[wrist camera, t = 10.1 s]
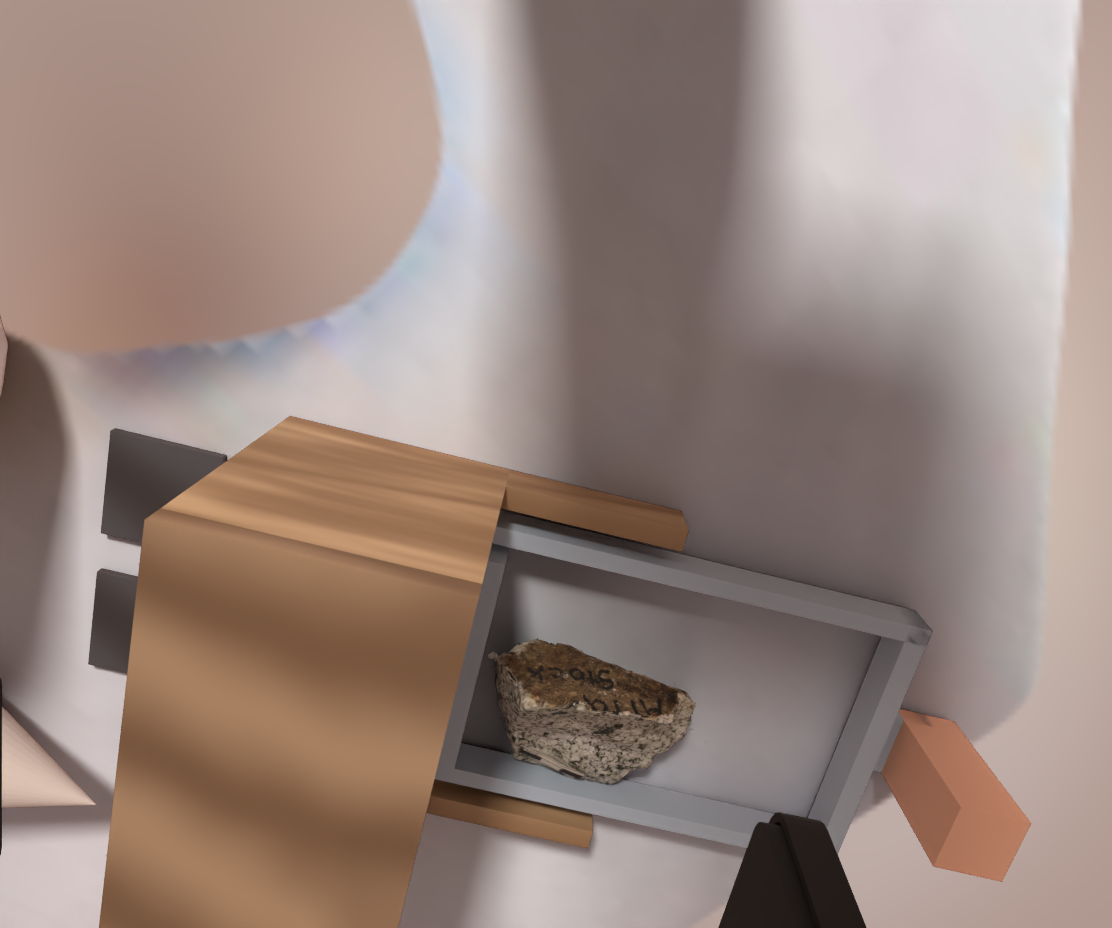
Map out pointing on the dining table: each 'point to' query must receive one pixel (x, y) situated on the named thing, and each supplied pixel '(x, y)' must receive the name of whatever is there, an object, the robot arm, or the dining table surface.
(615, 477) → the dining table surface
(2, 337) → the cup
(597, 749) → the rock sample
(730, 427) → the dining table surface
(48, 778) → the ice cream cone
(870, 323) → the dining table surface
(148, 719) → the brown wooden arch frame
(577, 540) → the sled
